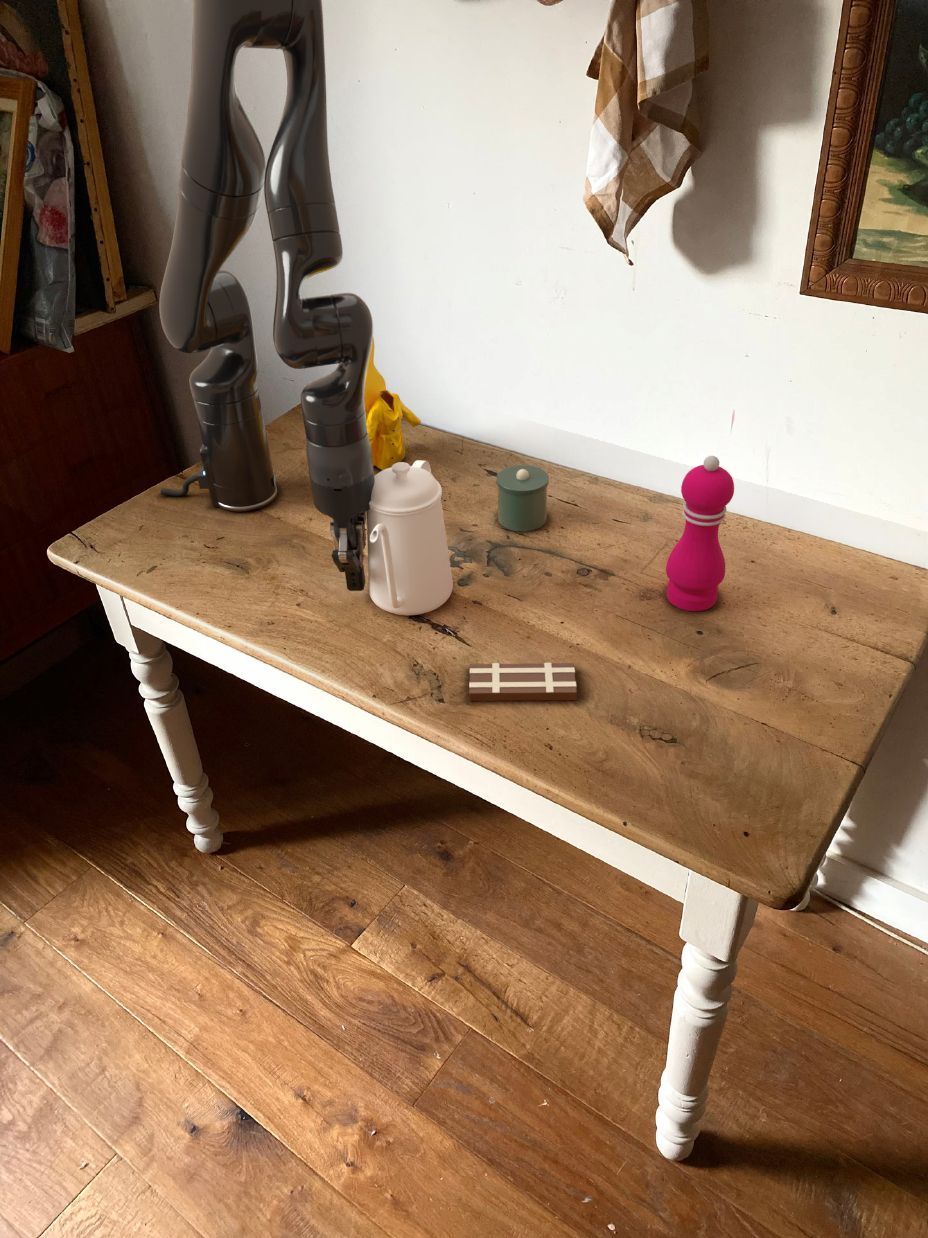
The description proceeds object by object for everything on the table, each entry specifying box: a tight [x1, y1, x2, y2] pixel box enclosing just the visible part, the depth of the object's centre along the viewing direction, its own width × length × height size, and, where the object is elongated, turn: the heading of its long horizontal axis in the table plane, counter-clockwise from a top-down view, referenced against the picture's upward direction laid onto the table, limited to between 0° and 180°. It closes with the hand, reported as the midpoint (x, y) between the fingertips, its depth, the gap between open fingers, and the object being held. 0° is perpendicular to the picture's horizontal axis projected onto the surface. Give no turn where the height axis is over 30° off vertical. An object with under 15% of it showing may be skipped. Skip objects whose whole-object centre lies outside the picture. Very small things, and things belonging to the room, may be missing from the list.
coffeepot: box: [366, 459, 454, 616], centre depth 113 cm, size 11×25×19 cm, turn 169°
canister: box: [495, 464, 550, 533], centre depth 130 cm, size 7×7×8 cm
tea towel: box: [468, 662, 578, 702], centre depth 104 cm, size 12×5×1 cm, turn 89°
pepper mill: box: [665, 455, 735, 612], centre depth 110 cm, size 7×7×20 cm
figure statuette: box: [364, 337, 422, 471], centre depth 141 cm, size 18×8×22 cm, turn 151°
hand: (356, 587), depth 118 cm, fingers closed
